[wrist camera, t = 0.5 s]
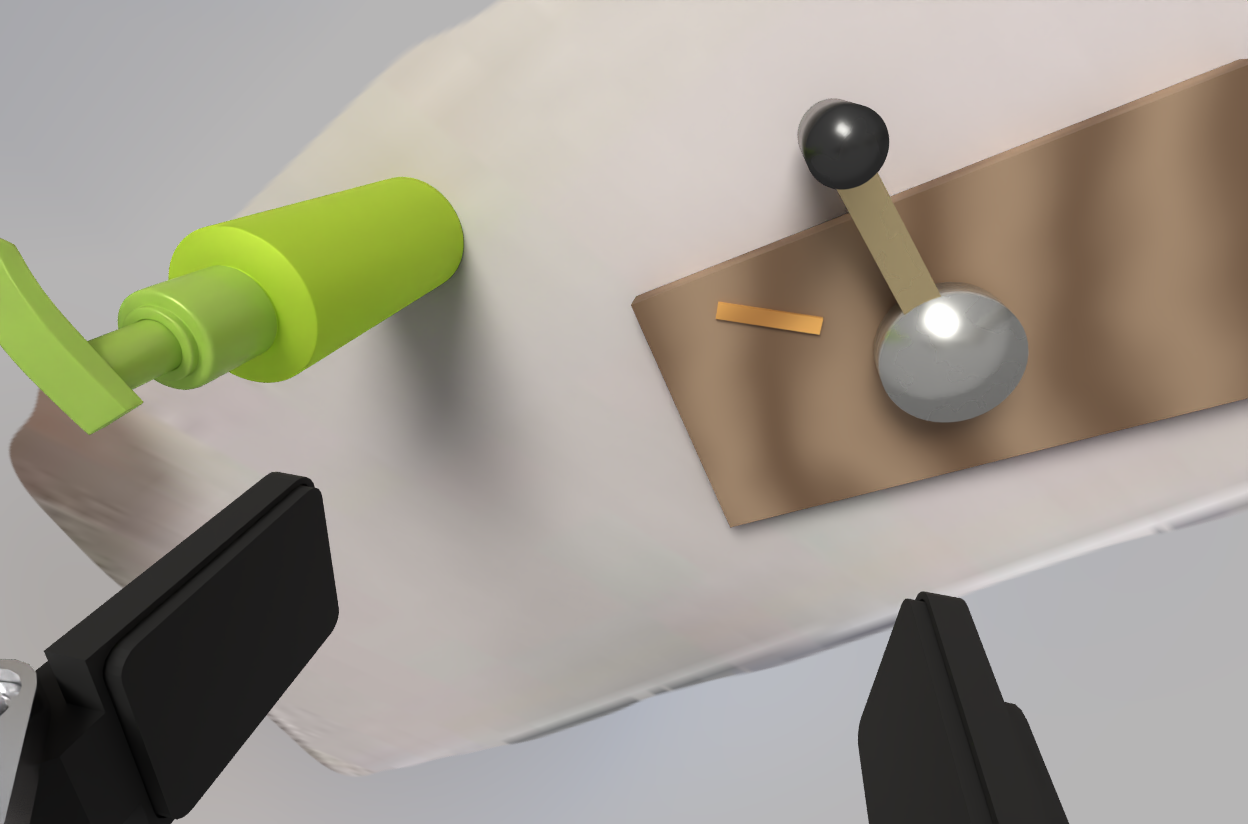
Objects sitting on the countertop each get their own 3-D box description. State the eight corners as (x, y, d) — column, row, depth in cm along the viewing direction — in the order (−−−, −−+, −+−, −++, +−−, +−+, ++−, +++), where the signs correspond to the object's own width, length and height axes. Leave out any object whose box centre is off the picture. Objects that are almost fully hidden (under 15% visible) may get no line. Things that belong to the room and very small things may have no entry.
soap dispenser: (409, 135, 33) (8, 197, 16) (484, 259, 36) (206, 434, 18) (327, 193, 36) (-104, 304, 18) (403, 306, 38) (83, 504, 20)
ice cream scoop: (1034, 367, 31) (1103, 441, 24) (907, 423, 33) (940, 505, 27) (884, 58, 27) (919, 51, 20) (750, 147, 29) (745, 166, 23)
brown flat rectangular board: (1239, 59, 26) (1268, 57, 24) (1270, 373, 31) (1297, 388, 29) (636, 296, 35) (630, 306, 33) (731, 512, 40) (730, 529, 38)
